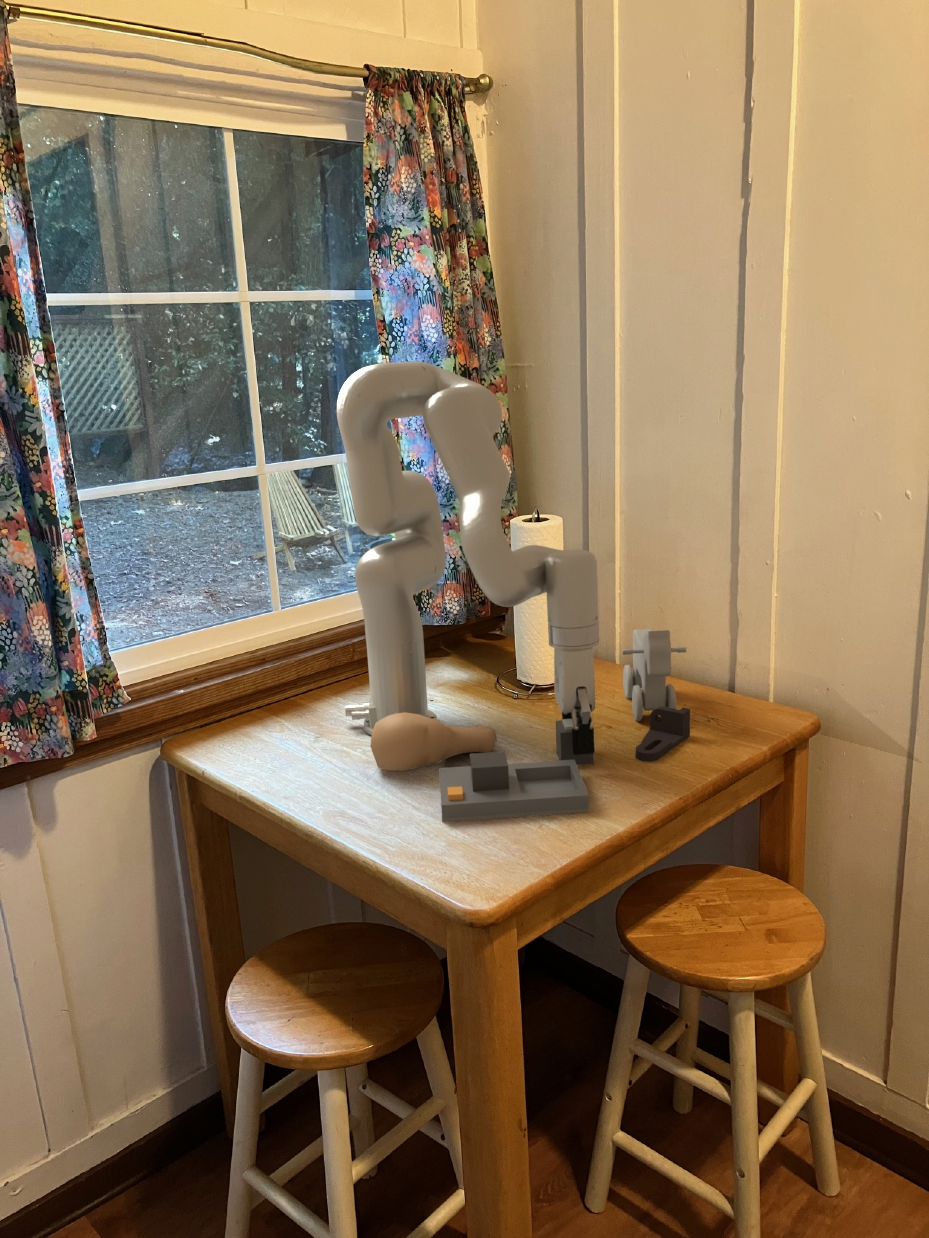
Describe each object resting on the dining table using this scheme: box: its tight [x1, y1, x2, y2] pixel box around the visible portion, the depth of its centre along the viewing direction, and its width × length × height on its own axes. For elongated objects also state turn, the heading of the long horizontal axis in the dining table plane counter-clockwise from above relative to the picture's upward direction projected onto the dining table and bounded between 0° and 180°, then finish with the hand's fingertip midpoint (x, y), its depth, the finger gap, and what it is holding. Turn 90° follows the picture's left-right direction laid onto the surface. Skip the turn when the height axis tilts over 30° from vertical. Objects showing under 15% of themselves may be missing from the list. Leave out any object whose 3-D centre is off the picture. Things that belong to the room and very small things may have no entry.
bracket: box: [635, 707, 691, 763], centre depth 151 cm, size 6×12×5 cm, turn 142°
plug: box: [555, 718, 595, 766], centre depth 148 cm, size 5×5×6 cm
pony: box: [622, 628, 687, 722], centre depth 164 cm, size 20×10×17 cm, turn 179°
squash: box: [370, 712, 497, 772], centre depth 149 cm, size 11×20×9 cm, turn 112°
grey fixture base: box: [438, 751, 590, 823], centre depth 136 cm, size 20×12×6 cm, turn 93°
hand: (578, 741), depth 147 cm, fingers open, 9 cm apart
